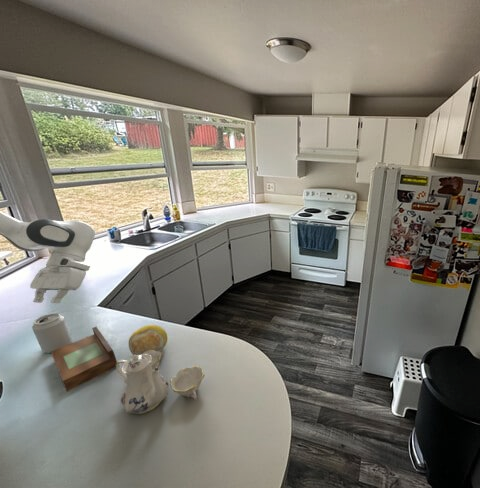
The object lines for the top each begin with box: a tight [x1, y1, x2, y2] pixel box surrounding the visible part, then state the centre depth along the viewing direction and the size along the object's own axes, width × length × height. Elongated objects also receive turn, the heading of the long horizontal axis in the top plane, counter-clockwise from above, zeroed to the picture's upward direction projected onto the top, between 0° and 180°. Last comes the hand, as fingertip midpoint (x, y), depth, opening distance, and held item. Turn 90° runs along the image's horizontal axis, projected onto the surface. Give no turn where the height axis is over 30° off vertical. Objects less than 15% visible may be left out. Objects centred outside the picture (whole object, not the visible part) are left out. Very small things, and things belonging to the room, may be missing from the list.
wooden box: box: [51, 326, 118, 392], centre depth 80 cm, size 12×18×7 cm, turn 53°
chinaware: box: [115, 350, 205, 416], centre depth 71 cm, size 28×17×17 cm, turn 74°
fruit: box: [128, 324, 168, 356], centre depth 85 cm, size 10×11×10 cm
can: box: [31, 312, 73, 354], centre depth 86 cm, size 8×8×12 cm
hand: (45, 302), depth 84 cm, fingers open, 8 cm apart
